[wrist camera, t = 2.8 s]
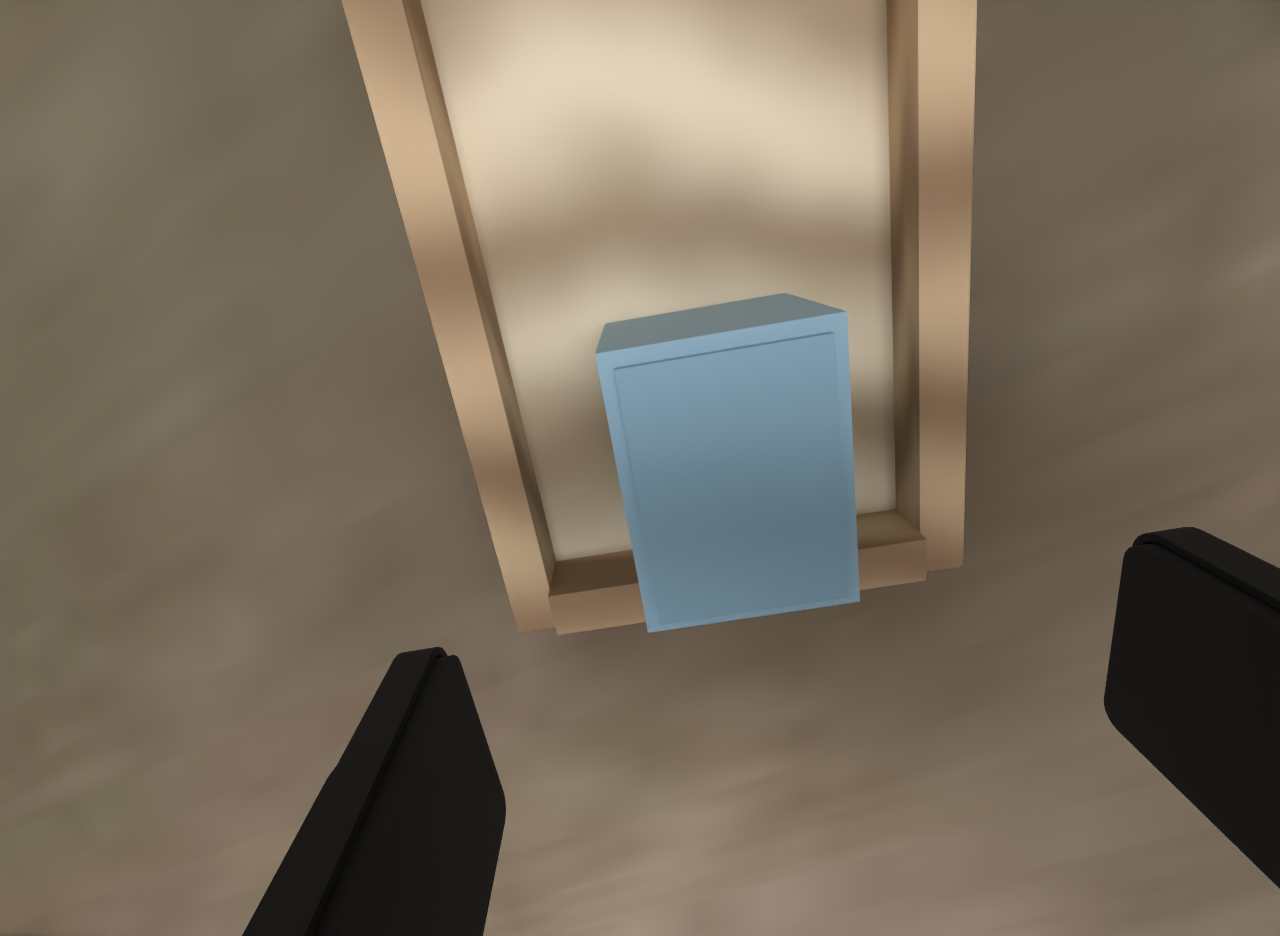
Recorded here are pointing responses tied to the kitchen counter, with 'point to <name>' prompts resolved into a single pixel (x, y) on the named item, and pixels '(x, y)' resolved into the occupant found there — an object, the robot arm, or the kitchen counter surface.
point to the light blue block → (734, 457)
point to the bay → (680, 240)
